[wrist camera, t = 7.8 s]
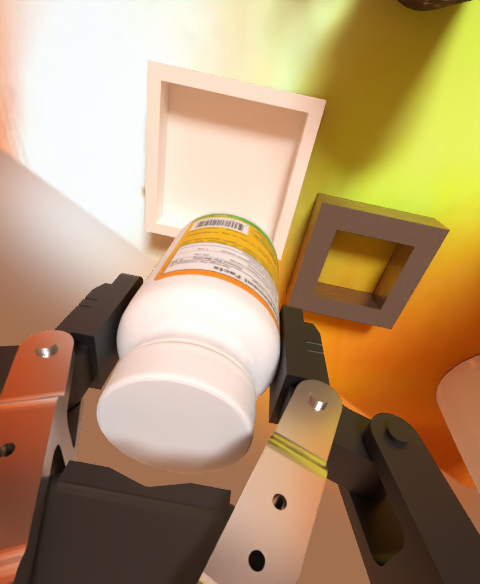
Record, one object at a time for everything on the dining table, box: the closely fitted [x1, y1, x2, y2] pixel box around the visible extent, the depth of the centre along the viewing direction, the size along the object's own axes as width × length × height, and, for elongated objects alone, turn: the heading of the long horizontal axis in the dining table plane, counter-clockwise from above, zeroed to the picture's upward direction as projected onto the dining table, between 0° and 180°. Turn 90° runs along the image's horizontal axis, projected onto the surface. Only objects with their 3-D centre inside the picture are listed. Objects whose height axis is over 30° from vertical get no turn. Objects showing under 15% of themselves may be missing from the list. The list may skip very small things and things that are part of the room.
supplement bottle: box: [97, 212, 280, 473], centre depth 12 cm, size 5×5×10 cm
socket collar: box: [287, 193, 450, 329], centre depth 30 cm, size 11×11×3 cm
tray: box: [145, 61, 327, 260], centre depth 27 cm, size 13×13×3 cm
